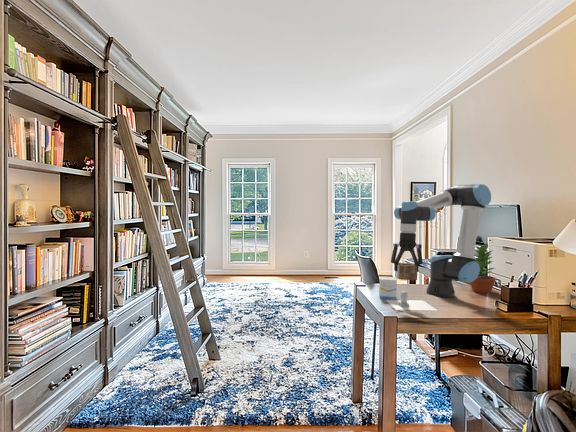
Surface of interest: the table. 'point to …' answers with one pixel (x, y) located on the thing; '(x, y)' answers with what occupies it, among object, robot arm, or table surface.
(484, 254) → the potted plant
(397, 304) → the hub board
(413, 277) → the wooden cubby shelf
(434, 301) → the table surface
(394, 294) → the ink box
